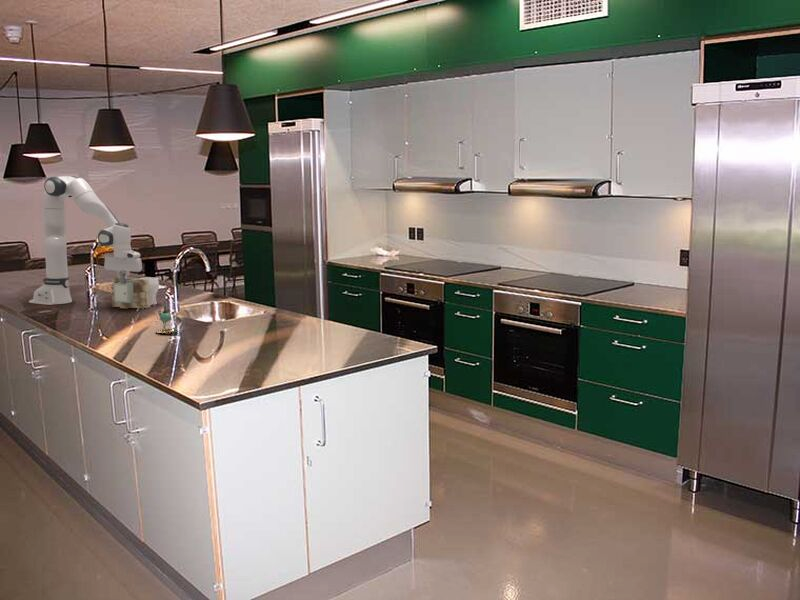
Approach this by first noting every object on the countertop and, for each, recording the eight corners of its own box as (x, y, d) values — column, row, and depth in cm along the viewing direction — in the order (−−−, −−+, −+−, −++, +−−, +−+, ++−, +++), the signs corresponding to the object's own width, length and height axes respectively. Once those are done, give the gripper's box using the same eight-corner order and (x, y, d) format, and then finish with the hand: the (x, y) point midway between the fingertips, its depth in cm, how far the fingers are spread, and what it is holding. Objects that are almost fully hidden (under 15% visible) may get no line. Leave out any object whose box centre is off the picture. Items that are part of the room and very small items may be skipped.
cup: (162, 303, 432) (161, 277, 430) (154, 306, 422) (154, 280, 419) (144, 302, 433) (143, 276, 431) (136, 305, 423) (135, 279, 420)
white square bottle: (113, 302, 407) (112, 274, 405) (122, 299, 416) (121, 272, 414) (127, 303, 406) (126, 275, 404) (135, 300, 415) (135, 273, 413)
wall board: (110, 307, 416) (109, 278, 413) (116, 305, 423) (115, 277, 420) (144, 309, 413) (143, 280, 410) (150, 307, 420) (150, 278, 417)
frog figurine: (165, 338, 348) (162, 306, 346) (149, 335, 361) (146, 304, 360) (184, 335, 354) (182, 304, 352) (168, 332, 367) (165, 302, 366)
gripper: (101, 253, 404) (102, 278, 407) (137, 255, 402) (138, 280, 404) (107, 252, 410) (108, 277, 413) (143, 253, 408) (143, 279, 410)
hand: (123, 279), depth 408 cm, fingers closed on white square bottle
